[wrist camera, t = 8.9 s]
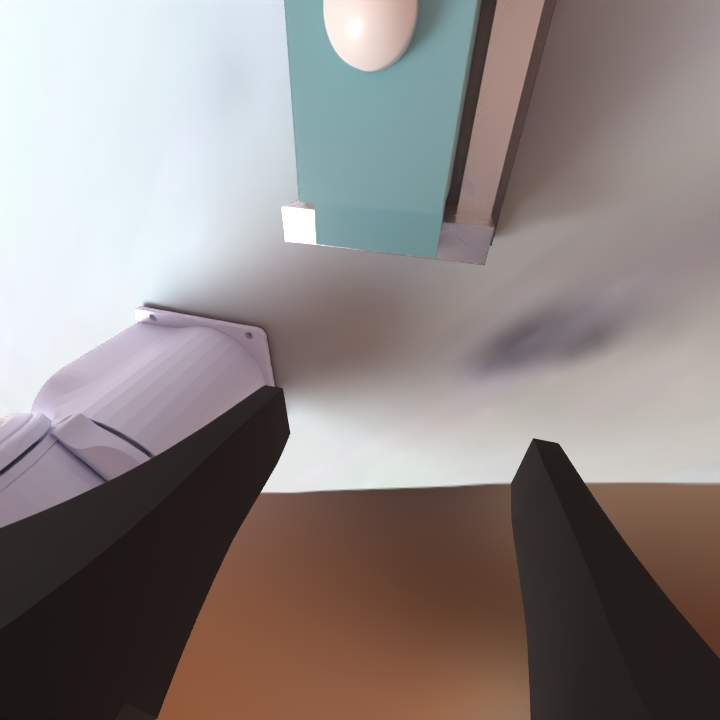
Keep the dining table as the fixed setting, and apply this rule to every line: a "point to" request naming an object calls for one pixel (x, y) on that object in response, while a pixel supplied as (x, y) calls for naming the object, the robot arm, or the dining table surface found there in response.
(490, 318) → the dining table surface
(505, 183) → the plate
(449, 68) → the block
